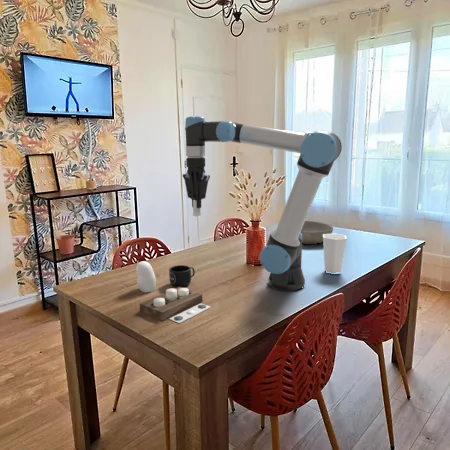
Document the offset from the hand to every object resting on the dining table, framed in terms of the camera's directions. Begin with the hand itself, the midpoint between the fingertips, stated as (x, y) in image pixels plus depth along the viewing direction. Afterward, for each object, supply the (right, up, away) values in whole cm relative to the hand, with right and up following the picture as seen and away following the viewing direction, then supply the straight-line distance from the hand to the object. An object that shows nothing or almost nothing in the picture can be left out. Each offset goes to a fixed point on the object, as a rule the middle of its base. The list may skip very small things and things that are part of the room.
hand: (196, 215), depth 160 cm
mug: (-6, -29, +7) cm, 30 cm away
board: (-8, -34, -16) cm, 38 cm away
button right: (-4, -32, -11) cm, 34 cm away
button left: (-12, -34, -21) cm, 42 cm away
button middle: (-8, -32, -16) cm, 36 cm away
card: (-1, -35, -22) cm, 41 cm away
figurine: (-20, -30, 0) cm, 37 cm away
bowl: (+61, -14, +73) cm, 96 cm away
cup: (+61, -26, +19) cm, 69 cm away
